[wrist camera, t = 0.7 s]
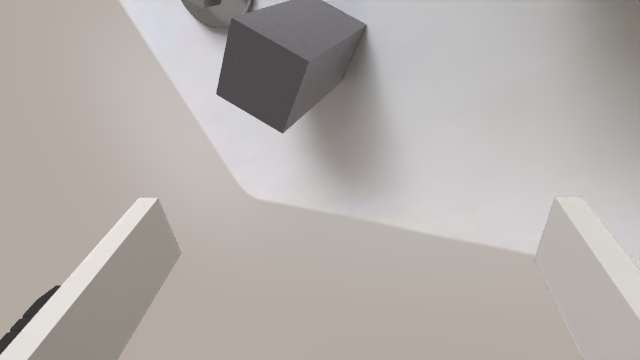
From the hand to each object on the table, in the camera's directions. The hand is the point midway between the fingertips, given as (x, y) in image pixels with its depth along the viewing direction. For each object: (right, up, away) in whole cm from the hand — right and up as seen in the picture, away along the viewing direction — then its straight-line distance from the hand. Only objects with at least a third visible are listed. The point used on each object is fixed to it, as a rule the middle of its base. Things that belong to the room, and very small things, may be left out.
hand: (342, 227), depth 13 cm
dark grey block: (0, +15, +23) cm, 28 cm away
